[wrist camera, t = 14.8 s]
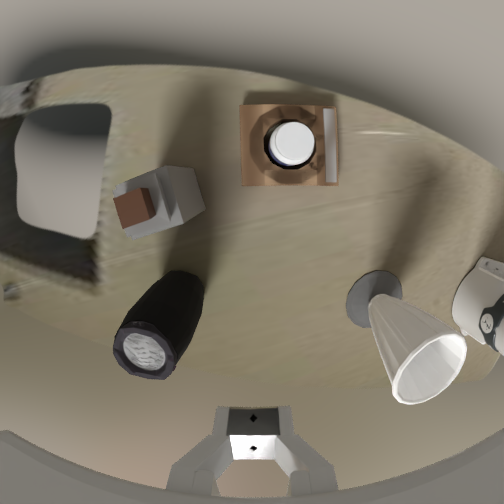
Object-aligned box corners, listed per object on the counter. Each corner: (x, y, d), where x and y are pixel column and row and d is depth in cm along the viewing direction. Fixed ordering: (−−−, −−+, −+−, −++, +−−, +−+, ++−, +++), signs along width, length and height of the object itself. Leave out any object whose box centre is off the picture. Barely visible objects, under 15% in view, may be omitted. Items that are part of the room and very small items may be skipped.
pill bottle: (262, 137, 40) (263, 126, 30) (296, 125, 39) (307, 111, 30) (276, 172, 41) (282, 170, 32) (311, 159, 41) (326, 154, 31)
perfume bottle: (205, 209, 43) (171, 231, 26) (167, 221, 44) (115, 250, 26) (193, 168, 41) (151, 163, 24) (154, 181, 42) (95, 188, 25)
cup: (332, 307, 47) (374, 389, 26) (376, 257, 44) (447, 314, 24) (372, 337, 49) (418, 414, 28) (412, 293, 46) (478, 354, 25)
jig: (330, 111, 38) (336, 106, 35) (333, 185, 42) (339, 185, 38) (240, 109, 39) (239, 104, 36) (242, 185, 42) (241, 186, 39)
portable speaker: (217, 299, 47) (195, 373, 28) (173, 319, 48) (135, 391, 29) (192, 256, 45) (150, 311, 26) (148, 279, 46) (93, 338, 28)
